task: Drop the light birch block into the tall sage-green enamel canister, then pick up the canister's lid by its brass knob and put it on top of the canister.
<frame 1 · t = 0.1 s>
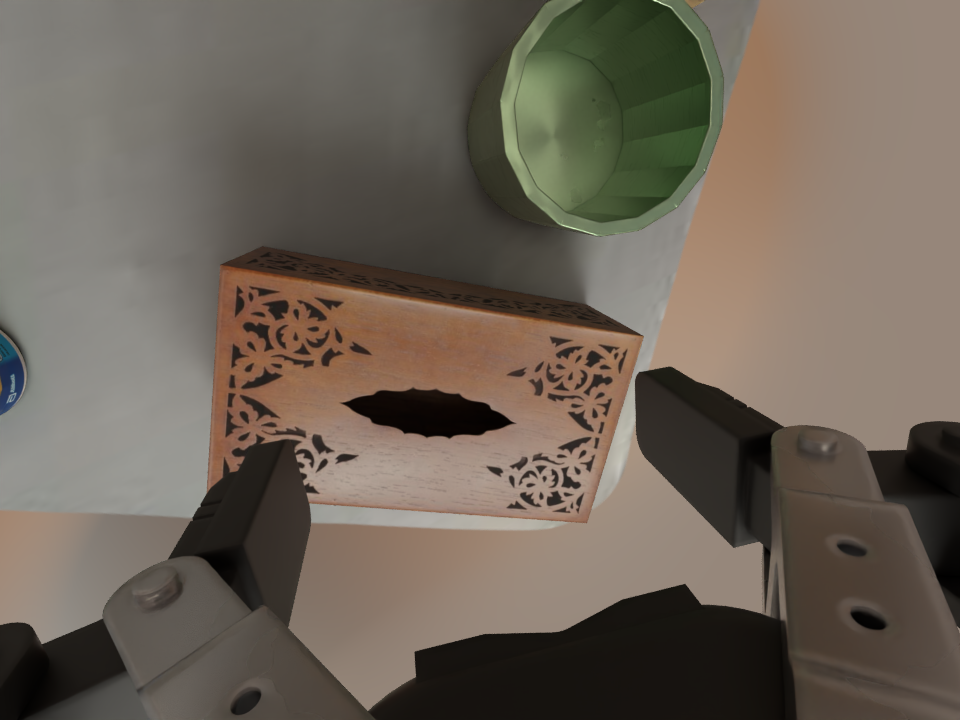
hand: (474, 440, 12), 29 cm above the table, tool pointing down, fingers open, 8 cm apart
tissue box cover: (421, 363, 42), on the table
canister: (550, 136, 38), on the table
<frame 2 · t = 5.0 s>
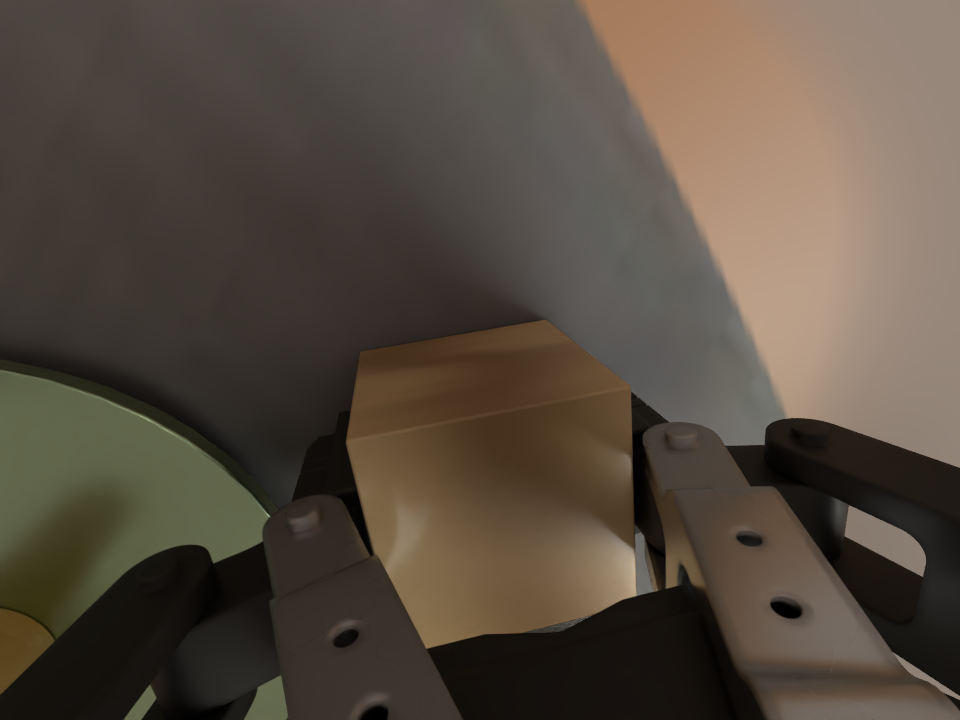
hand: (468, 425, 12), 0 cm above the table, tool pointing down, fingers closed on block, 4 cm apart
lid: (7, 634, 12), point 1 cm above the table
block: (468, 419, 13), on the table, touching gripper
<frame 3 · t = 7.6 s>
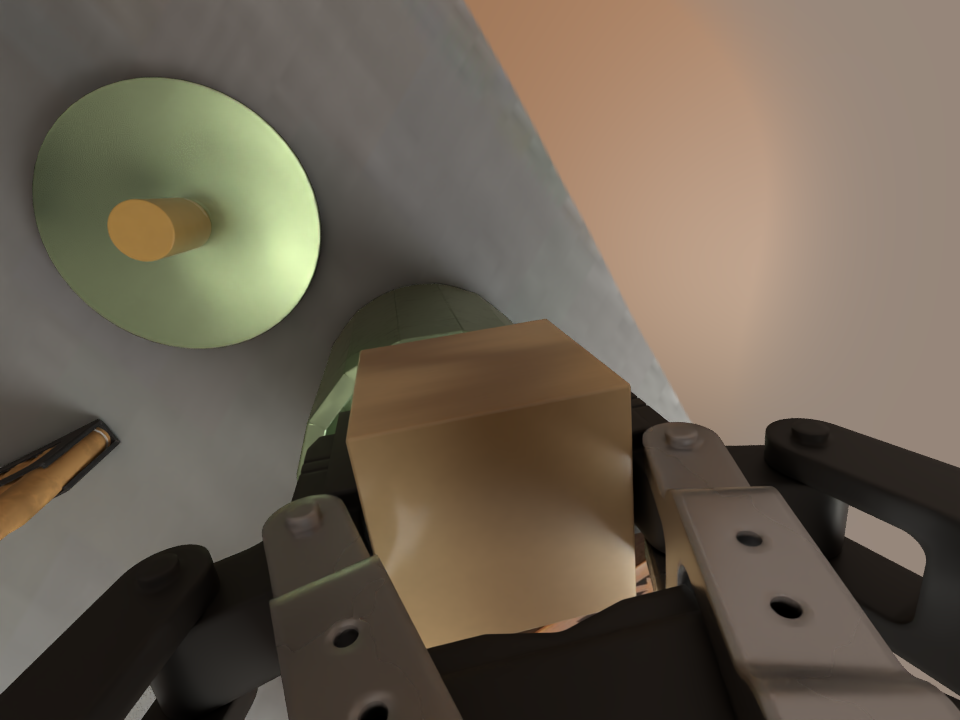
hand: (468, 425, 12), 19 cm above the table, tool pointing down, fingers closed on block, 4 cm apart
ammunition clip: (32, 469, 30), on the table
tissue box cover: (497, 609, 40), on the table
lid: (187, 223, 27), point 1 cm above the table
canister: (429, 380, 32), on the table
block: (467, 418, 13), point 19 cm above the table, touching gripper
when the fingers open (11 cm above the table, at t = 10.6 s): block drops 10 cm, resting on canister.
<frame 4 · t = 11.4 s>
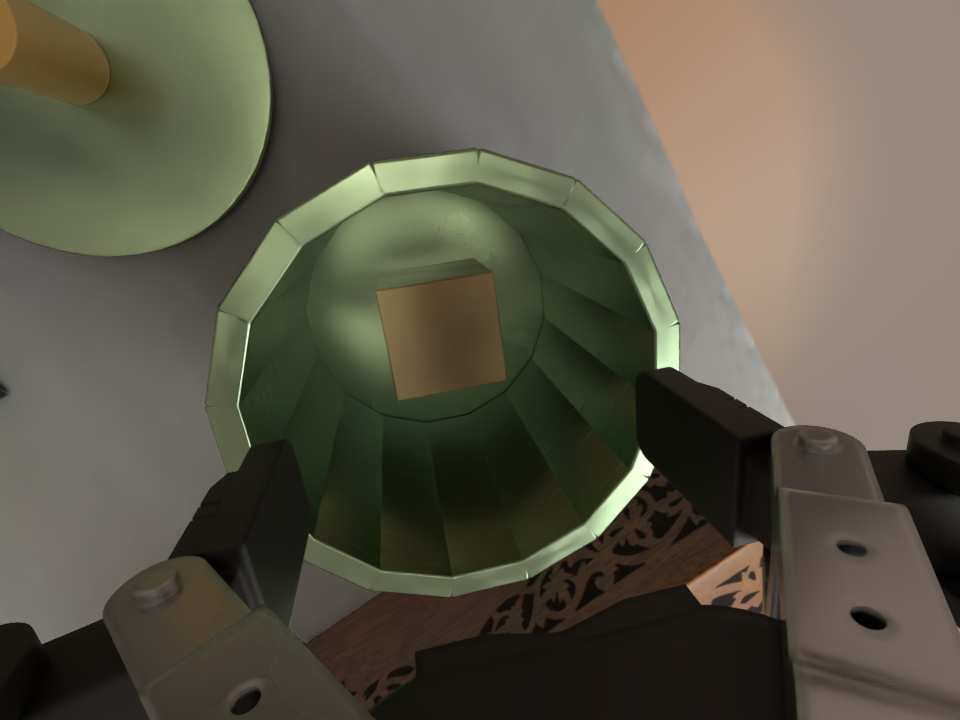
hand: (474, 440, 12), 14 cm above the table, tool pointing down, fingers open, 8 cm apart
tissue box cover: (519, 614, 31), on the table
lid: (78, 68, 19), point 1 cm above the table
canister: (429, 311, 24), on the table
block: (434, 312, 24), point 1 cm above the table, touching canister
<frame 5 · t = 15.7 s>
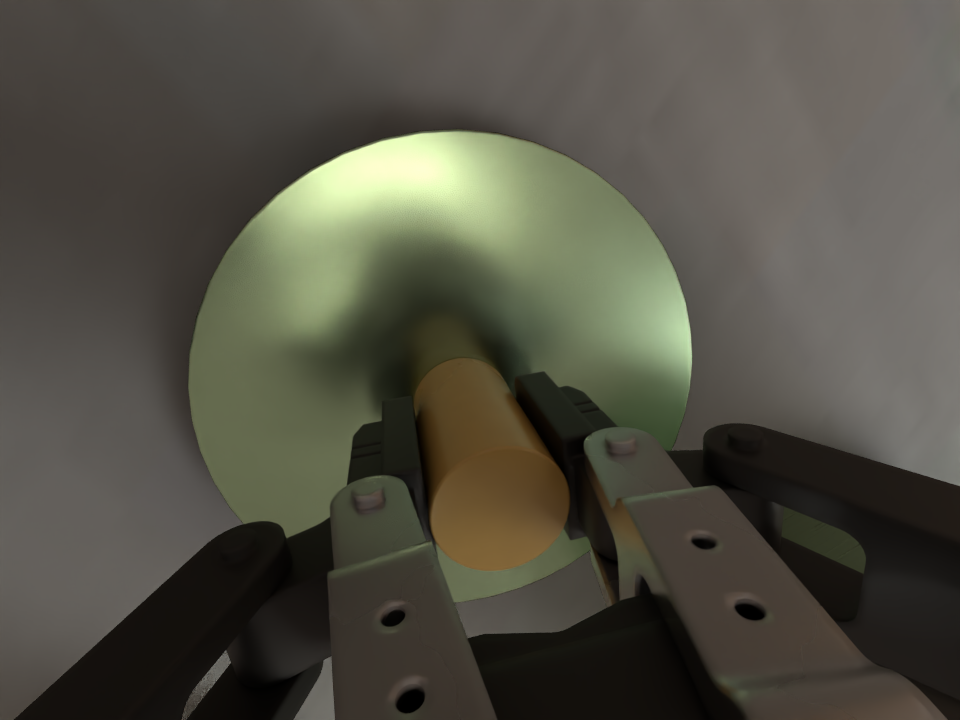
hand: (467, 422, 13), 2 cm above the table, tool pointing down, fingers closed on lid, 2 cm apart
lid: (459, 395, 14), point 1 cm above the table, touching gripper
canister: (778, 598, 20), on the table
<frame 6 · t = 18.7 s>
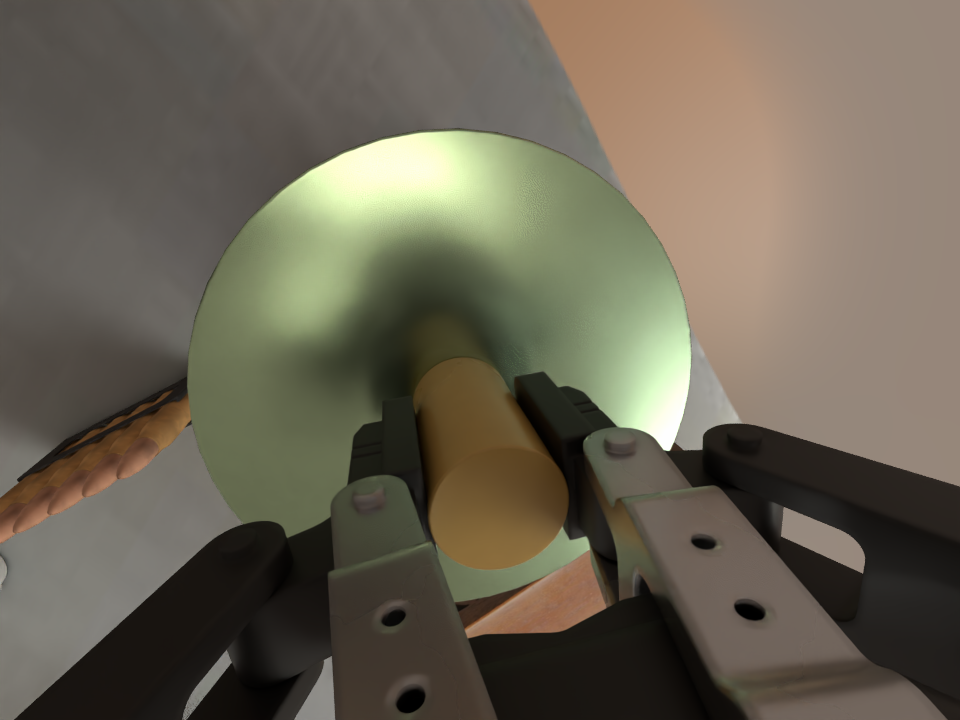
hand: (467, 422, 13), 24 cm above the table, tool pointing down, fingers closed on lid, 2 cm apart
ammunition clip: (146, 413, 34), on the table
tissue box cover: (541, 546, 44), on the table
lid: (458, 395, 14), point 22 cm above the table, touching gripper
when the fingers open (13 cm above the table, at t = 22.0 s): lid stays where it is, resting on canister.
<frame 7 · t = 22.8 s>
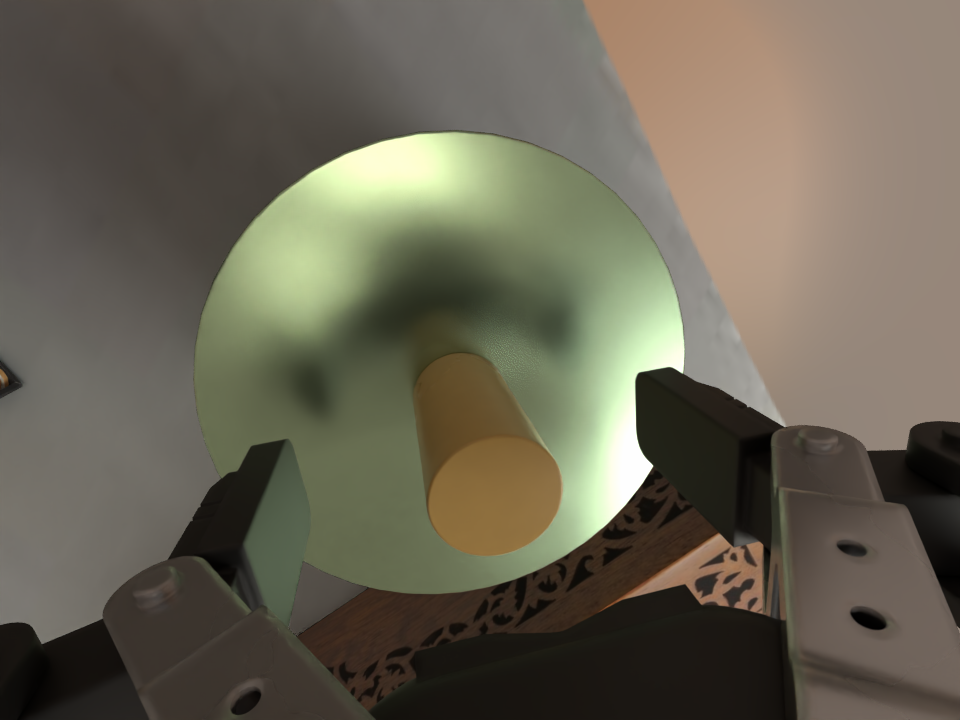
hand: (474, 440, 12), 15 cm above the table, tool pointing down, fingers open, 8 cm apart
tissue box cover: (514, 601, 32), on the table
lid: (457, 390, 14), point 11 cm above the table, touching canister
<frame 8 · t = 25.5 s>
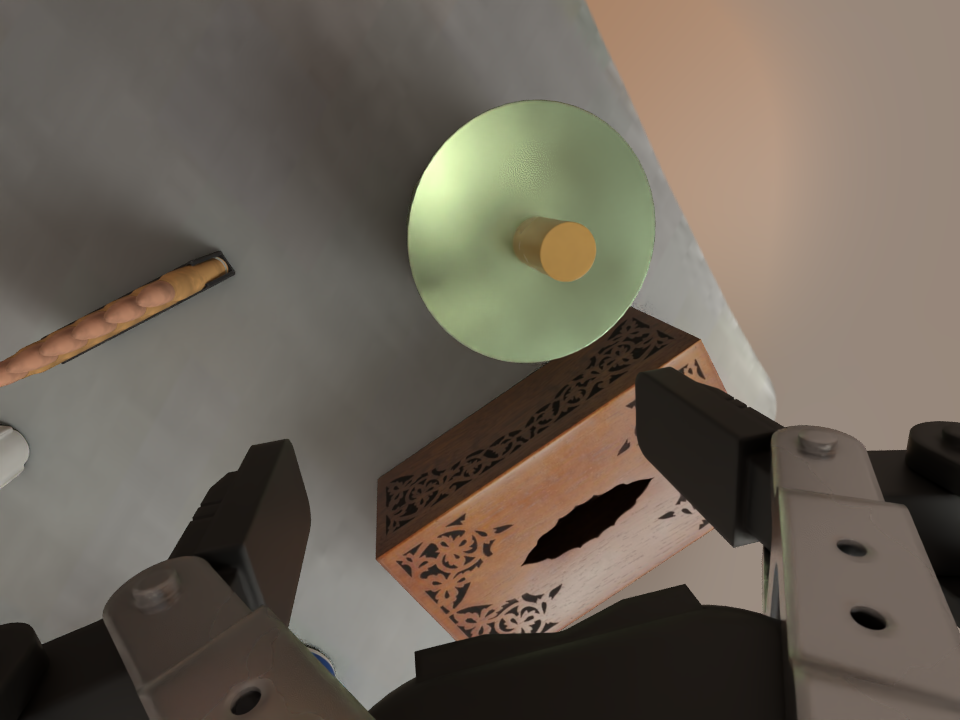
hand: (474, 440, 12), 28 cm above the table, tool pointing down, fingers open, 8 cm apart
ammunition clip: (162, 296, 36), on the table
tissue box cover: (544, 452, 45), on the table
lid: (533, 241, 27), point 11 cm above the table, touching canister
beverage bottle: (292, 674, 48), on the table
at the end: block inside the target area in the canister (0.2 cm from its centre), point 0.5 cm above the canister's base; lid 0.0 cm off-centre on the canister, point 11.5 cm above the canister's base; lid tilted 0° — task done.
